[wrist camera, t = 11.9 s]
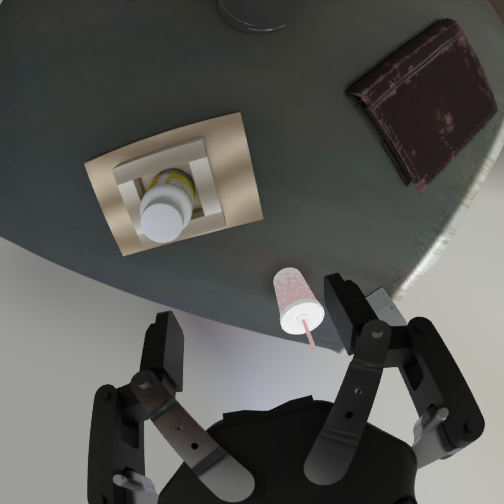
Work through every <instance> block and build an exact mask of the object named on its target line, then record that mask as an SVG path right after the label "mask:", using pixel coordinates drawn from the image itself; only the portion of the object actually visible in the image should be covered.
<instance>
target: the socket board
mask: <svg viewBox="0 0 504 504" xmlns="http://www.w3.org/2000/svg"><path fill="white" fill-rule="evenodd" d="M84 165H85V168H86V170H87V173H88V176H89V178H90V181H91V184H92V186H93V189H94V191H95V194H96V196H97V199H98V201H99V204H100V206H101V209H102V211H103V213H104V216H105V218H106V220H107V222H108V225H109V227H110V229H111V231H112V233H113V236H114V238H115V240H116V242H117V244H118V246H119V248H120V250H121V253H122V255H123V256H126V255H129V254H133V253H136V252H140V251H143V250H147V249H151V248H154V247H158V246H162V245H165V244H169V243H173V242H176V241H180V240H184V239H188V238H191V237H195V236H199V235H203V234H207V233H211V232H214V231H218V230H222V229H226V228H230V227H234V226H238V225H242V224H246V223H250V222H254V221H258V220H263V215H262V210H261V205H260V200H259V195H258V191H257V186H256V181H255V177H254V172H253V167H252V163H251V158H250V153H249V149H248V144H247V140H246V135H245V131H244V126H243V122H242V118H241V113H240V112H236V113H231V114H227V115H223V116H219V117H215V118H211V119H207V120H203V121H199V122H196V123H192V124H189V125H185V126H182V127H178V128H175V129H172V130H169V131H166V132H162V133H159V134H156V135H153V136H151V137H148V138H145V139H142V140H139V141H136V142H134V143H131V144H128V145H126V146H123V147H121V148H118V149H116V150H113V151H111V152H108V153H106V154H104V155H101V156H99V157H97V158H94V159H92V160H90V161H88V162H86V163H85V164H84ZM170 168H177V169H180V170H183V171H185V172H186V173H187V174H188V175H189V176H190V177H191V178H192V180H193V182H194V186H195V195H194V203H193V211H192V216H191V219H190V221H189V223H188V225H187V226H186V227H185V228H184V229H183V230H182V231H181V233H180V235H179V236H178V237H177V238H176V239H174V240H172V241H170V242H166V243H159V242H155V241H153V240H151V239H149V238H148V237H147V236H146V235H145V234H144V233H143V231H142V228H141V224H140V220H141V216H140V204H141V200H142V198H143V196H144V194H145V193H146V191H147V189H148V188H149V186H150V184H151V183H152V181H153V180H154V178H155V177H156V176H157V175H158V174H159V173H160V172H161V171H163V170H166V169H170Z"/></svg>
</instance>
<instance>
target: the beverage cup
mask: <svg viewBox="0 0 504 504" xmlns="http://www.w3.org/2000/svg"><path fill="white" fill-rule="evenodd" d="M273 283H274V287H275V292H276V296H277V301H278V305H279V310H280V315H281V316H280V323H281V326H282V328H283V330H284V331H286V332H287V333H290V334H304V333H306V334H307V336H308V339H309V342H310V344H311V347H312V349H314V348H315V344H314V342H313V339H312V336H311V334H310V331H311V330H313V329H315V328H316V327H317V326H318V325H319V324H320V323H321V322H322V320H323V317H324V309H323V307H322V306H321V304H320V303H319V302H318V301H317V300H316V298H315V297H314V295H313V293H312V292H311V290H310V288H309V286H308V285H307V283H306V281H305V280H304V278H303V276H302V274H301V273H300V272H299V271H298V270H297V269H295V268H285V269H282V270H280V271H279V272H278V273H277V274H276V275H275V277H274V281H273Z"/></svg>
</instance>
